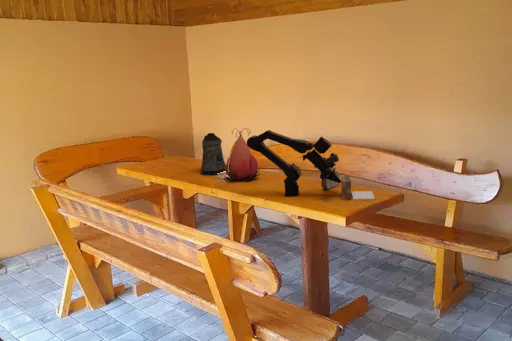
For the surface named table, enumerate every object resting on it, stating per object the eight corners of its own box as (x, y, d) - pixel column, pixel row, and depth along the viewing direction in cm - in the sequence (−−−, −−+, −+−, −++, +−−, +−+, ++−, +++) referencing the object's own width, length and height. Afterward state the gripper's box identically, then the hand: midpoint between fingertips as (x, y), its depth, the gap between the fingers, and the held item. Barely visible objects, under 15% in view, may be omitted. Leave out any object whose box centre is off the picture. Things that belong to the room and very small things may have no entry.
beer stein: (216, 176, 293) (214, 135, 288) (191, 174, 304) (189, 134, 299) (232, 171, 307) (229, 132, 302) (207, 169, 317) (205, 131, 312)
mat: (353, 200, 228) (353, 198, 228) (351, 192, 241) (351, 191, 241) (374, 199, 226) (374, 198, 226) (371, 192, 240) (371, 191, 240)
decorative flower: (266, 176, 288) (264, 126, 282) (248, 185, 268) (245, 131, 262) (234, 174, 298) (231, 126, 292) (214, 182, 278) (211, 131, 272)
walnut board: (342, 199, 229) (342, 181, 228) (341, 193, 241) (341, 176, 239) (351, 199, 229) (350, 181, 227) (349, 193, 240) (349, 175, 239)
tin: (335, 184, 260) (335, 169, 258) (340, 185, 258) (340, 169, 256) (320, 190, 249) (320, 174, 247) (326, 191, 247) (325, 175, 245)
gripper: (326, 152, 224) (350, 175, 223) (331, 145, 241) (353, 167, 241) (310, 168, 228) (333, 191, 227) (316, 161, 245) (338, 182, 244)
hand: (340, 182), depth 235 cm, fingers closed
